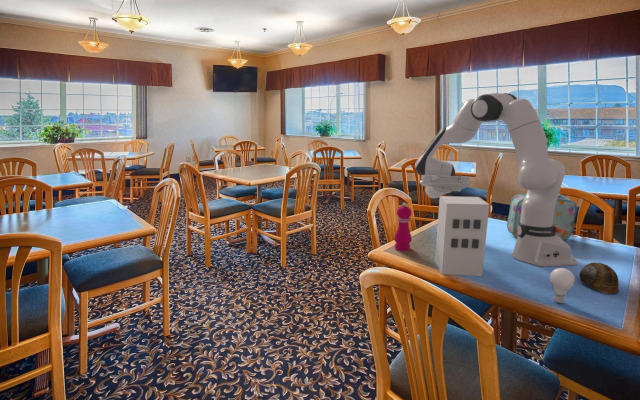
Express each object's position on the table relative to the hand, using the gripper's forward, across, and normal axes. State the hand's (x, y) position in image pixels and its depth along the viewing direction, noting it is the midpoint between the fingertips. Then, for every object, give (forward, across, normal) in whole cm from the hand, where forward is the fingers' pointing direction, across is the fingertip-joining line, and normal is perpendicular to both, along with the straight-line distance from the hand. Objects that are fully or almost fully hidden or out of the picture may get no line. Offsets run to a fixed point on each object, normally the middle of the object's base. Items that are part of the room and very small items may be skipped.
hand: (449, 177), depth 162 cm
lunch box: (-22, +46, +22) cm, 56 cm away
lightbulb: (+36, +22, +48) cm, 64 cm away
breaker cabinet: (+13, -1, +38) cm, 40 cm away
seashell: (+25, +41, +42) cm, 64 cm away
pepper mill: (-6, -18, +31) cm, 36 cm away
